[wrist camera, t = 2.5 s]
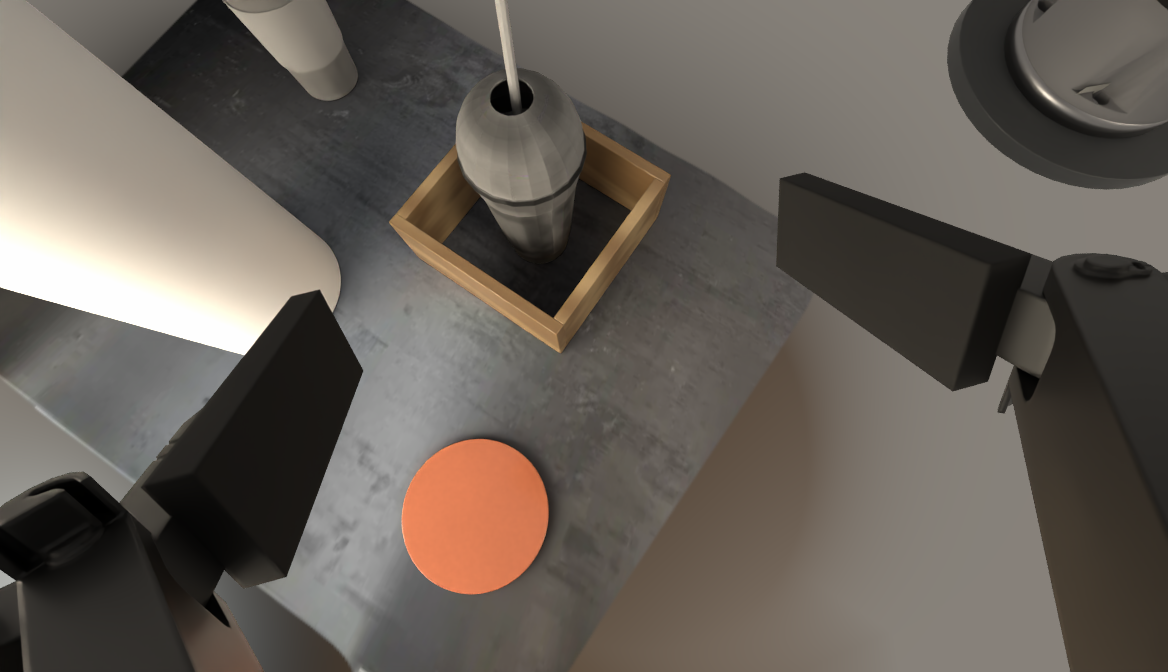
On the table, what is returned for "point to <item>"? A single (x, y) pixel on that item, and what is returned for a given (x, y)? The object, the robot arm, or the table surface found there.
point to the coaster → (475, 516)
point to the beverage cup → (522, 152)
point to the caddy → (432, 223)
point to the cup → (302, 42)
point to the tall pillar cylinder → (134, 203)
